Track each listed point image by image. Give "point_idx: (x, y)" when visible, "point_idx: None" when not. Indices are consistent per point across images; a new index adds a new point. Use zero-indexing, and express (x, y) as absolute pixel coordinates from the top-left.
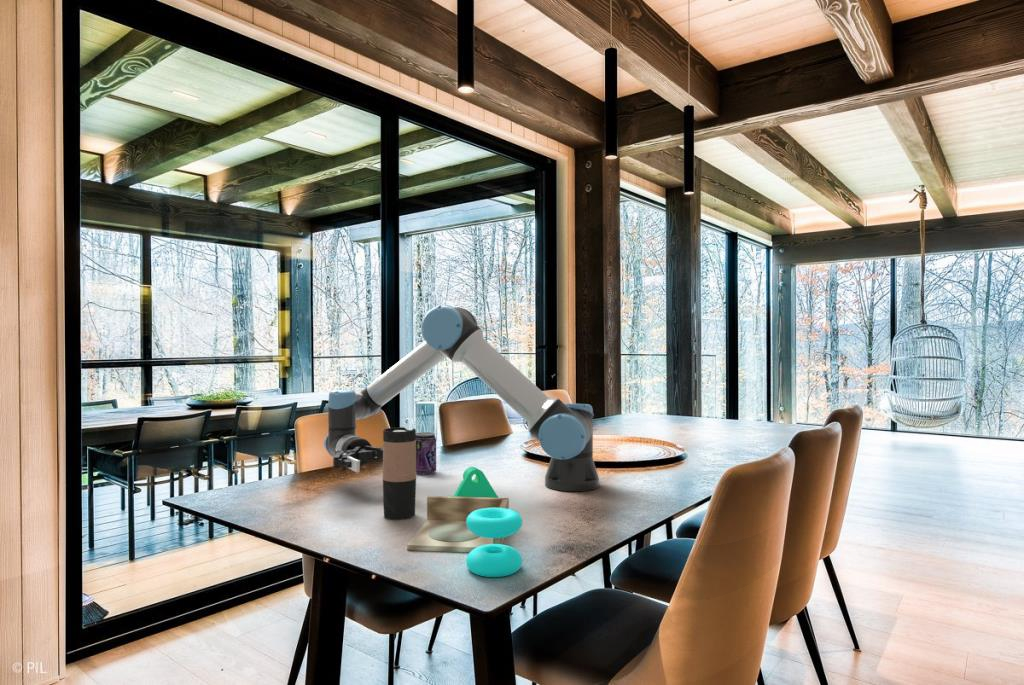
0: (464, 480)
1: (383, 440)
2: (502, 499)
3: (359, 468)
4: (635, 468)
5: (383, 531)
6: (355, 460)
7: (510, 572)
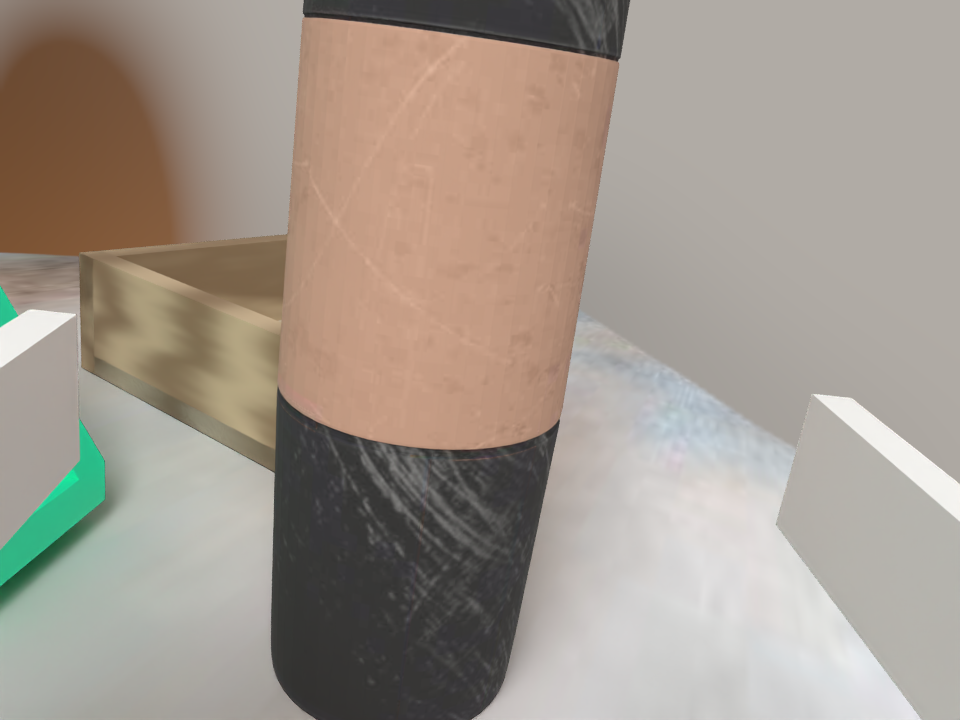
0: (2, 307)
1: (619, 57)
2: (115, 257)
3: (789, 484)
4: None
5: (587, 523)
6: (872, 415)
7: None
